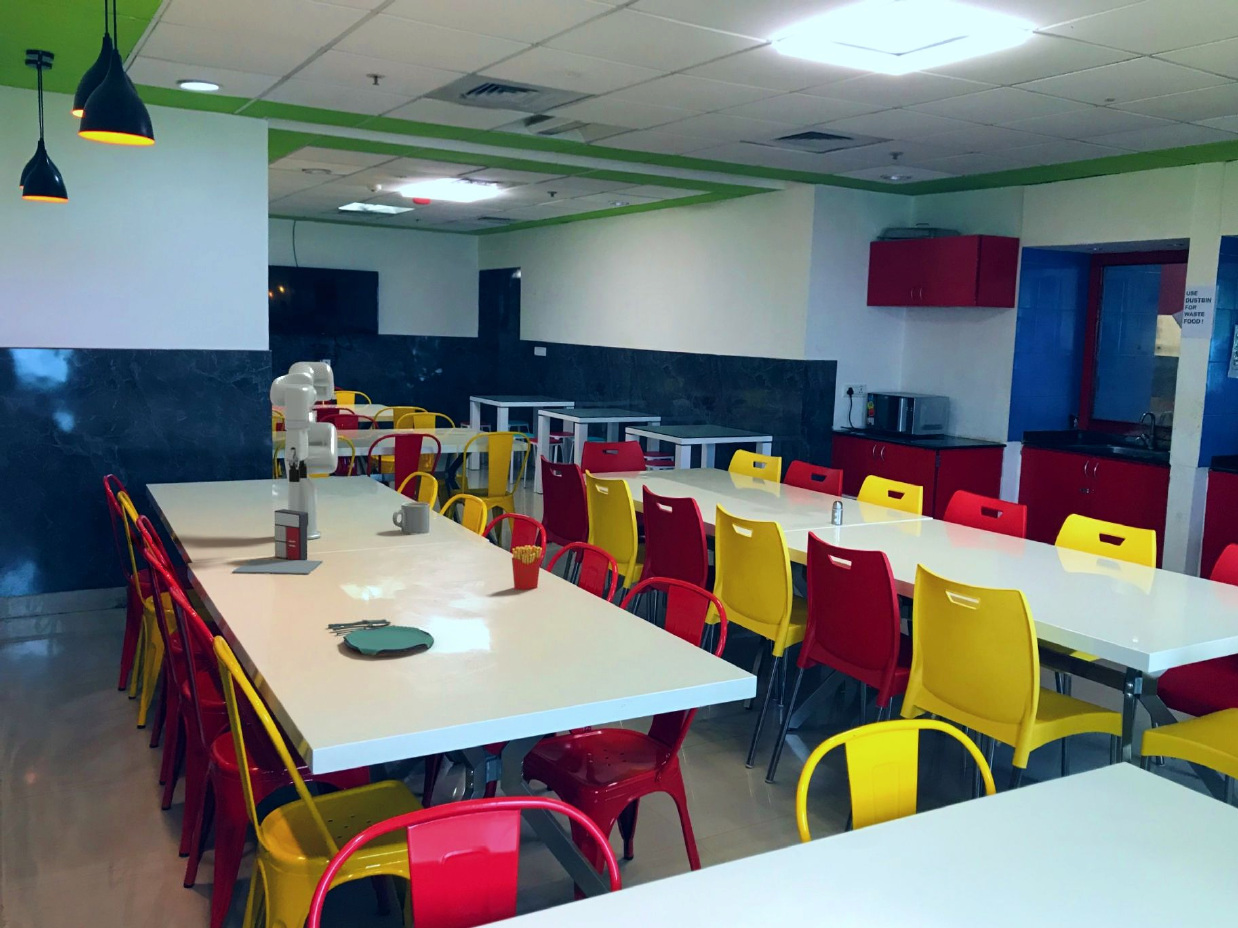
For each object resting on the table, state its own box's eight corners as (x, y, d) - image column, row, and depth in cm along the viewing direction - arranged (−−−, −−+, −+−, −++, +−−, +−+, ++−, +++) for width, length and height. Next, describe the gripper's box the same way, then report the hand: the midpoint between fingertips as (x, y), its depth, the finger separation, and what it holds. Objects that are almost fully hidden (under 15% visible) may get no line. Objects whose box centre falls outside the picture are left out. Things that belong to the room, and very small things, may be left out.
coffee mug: (426, 528, 372) (426, 501, 371) (432, 533, 363) (432, 505, 362) (389, 530, 367) (389, 502, 366) (394, 535, 358) (394, 507, 357)
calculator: (273, 557, 318) (272, 510, 316) (283, 555, 322) (282, 508, 320) (298, 562, 313) (298, 514, 311) (309, 559, 317) (308, 512, 315)
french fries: (513, 590, 286) (514, 548, 284) (510, 586, 289) (510, 545, 288) (542, 588, 289) (543, 547, 287) (538, 584, 292) (539, 544, 291)
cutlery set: (360, 664, 220) (360, 653, 219) (319, 630, 245) (319, 621, 244) (445, 651, 231) (445, 641, 230) (397, 620, 256) (397, 612, 255)
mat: (251, 560, 313) (250, 559, 313) (322, 562, 313) (322, 560, 313) (232, 573, 297) (232, 571, 297) (308, 574, 298) (308, 572, 298)
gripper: (293, 422, 330) (294, 476, 332) (276, 427, 313) (277, 483, 315) (316, 422, 330) (317, 476, 332) (301, 427, 313) (302, 484, 315)
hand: (298, 479), depth 324 cm, fingers open, 7 cm apart
